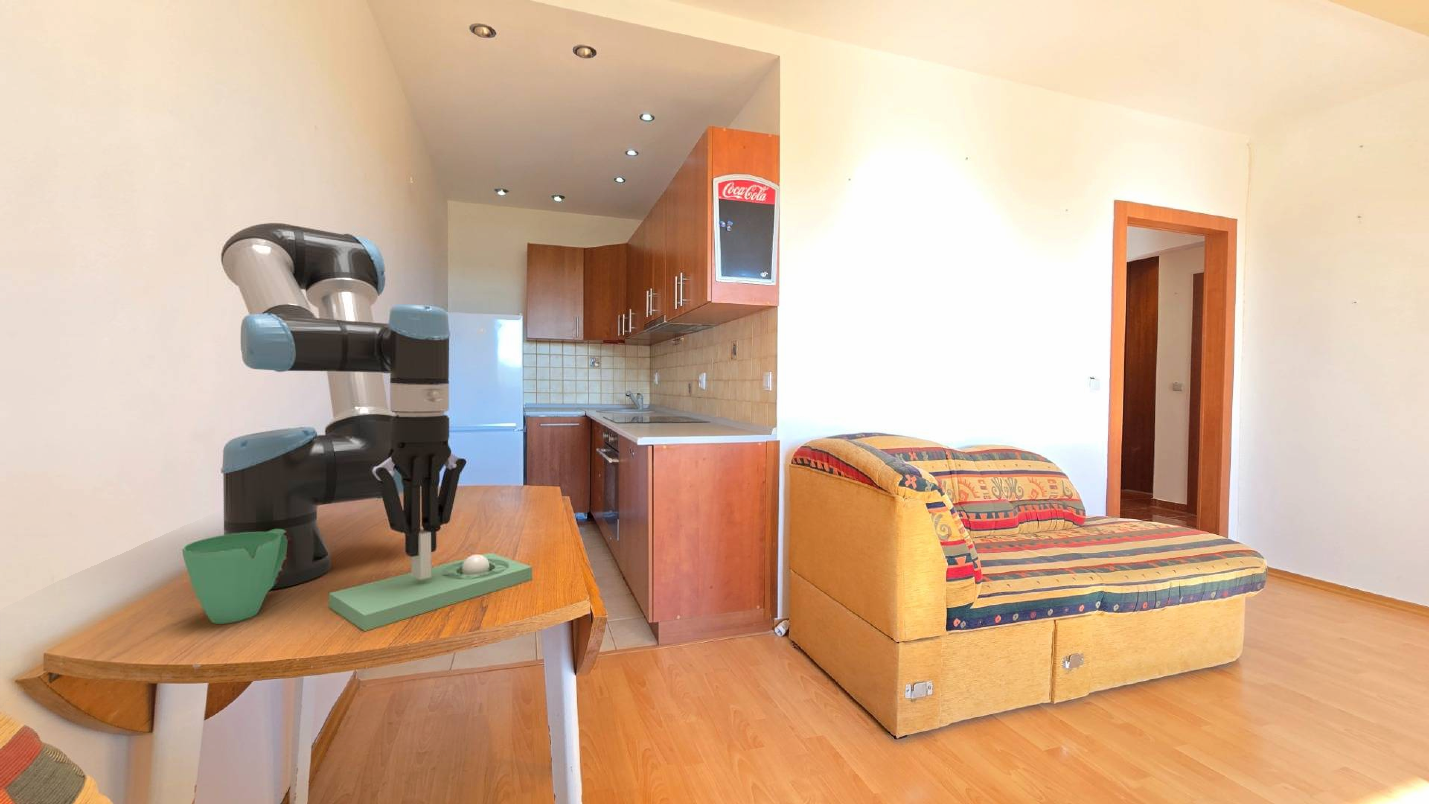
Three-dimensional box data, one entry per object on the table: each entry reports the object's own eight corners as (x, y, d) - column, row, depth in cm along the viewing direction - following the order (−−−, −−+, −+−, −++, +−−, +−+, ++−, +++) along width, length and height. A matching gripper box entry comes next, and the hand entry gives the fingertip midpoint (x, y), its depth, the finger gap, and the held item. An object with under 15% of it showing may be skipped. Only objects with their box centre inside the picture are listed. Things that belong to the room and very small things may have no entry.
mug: (248, 631, 70) (246, 551, 70) (162, 633, 69) (160, 553, 69) (318, 588, 85) (318, 522, 84) (248, 590, 84) (247, 523, 83)
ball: (456, 582, 88) (458, 556, 89) (481, 581, 90) (483, 556, 92) (468, 579, 85) (469, 552, 87) (493, 579, 88) (494, 552, 89)
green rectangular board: (364, 631, 70) (364, 615, 70) (329, 607, 77) (328, 593, 77) (532, 579, 89) (531, 566, 89) (490, 564, 96) (490, 552, 96)
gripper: (384, 417, 73) (386, 595, 74) (477, 413, 84) (477, 569, 85) (359, 414, 78) (360, 583, 79) (450, 411, 88) (450, 559, 89)
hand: (421, 575), depth 82 cm, fingers closed
